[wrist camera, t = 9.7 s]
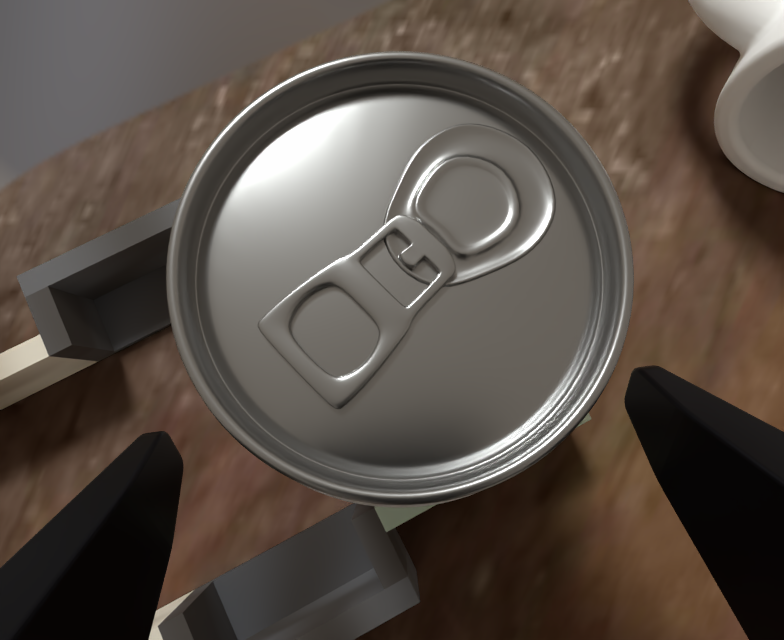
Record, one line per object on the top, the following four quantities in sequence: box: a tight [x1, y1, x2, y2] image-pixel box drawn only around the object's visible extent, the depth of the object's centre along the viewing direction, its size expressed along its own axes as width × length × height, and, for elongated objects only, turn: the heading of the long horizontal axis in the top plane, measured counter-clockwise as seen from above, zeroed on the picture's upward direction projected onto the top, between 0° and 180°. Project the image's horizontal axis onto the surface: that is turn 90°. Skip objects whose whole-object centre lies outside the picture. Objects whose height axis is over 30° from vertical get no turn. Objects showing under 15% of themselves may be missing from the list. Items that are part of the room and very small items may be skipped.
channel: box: [0, 198, 591, 640], centre depth 16 cm, size 22×15×2 cm
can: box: [166, 51, 634, 508], centre depth 11 cm, size 6×6×12 cm
